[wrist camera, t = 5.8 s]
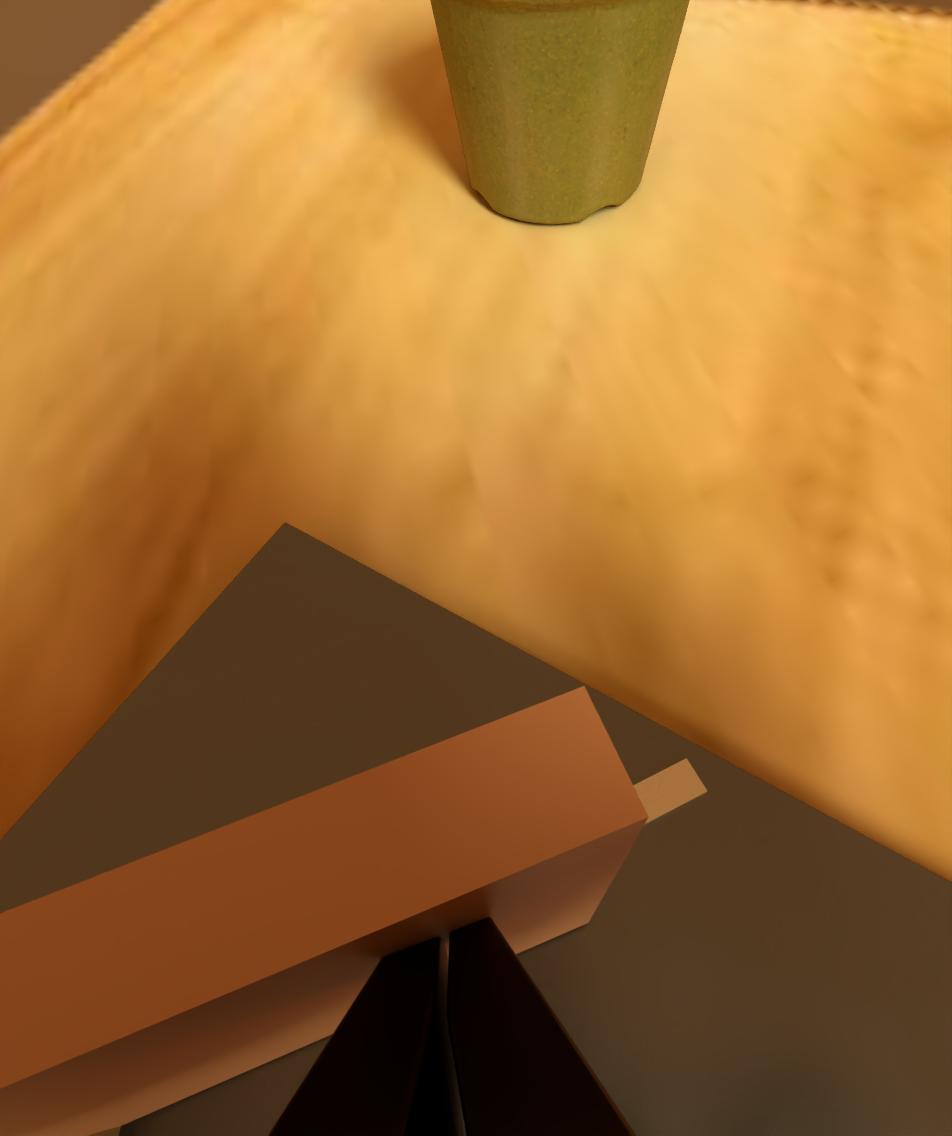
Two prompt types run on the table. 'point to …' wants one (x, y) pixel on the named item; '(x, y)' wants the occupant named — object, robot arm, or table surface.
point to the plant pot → (557, 97)
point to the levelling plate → (578, 957)
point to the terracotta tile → (300, 916)
